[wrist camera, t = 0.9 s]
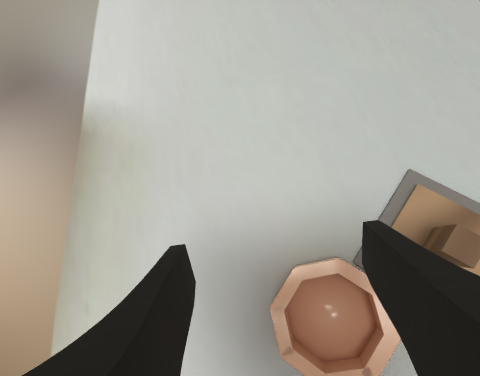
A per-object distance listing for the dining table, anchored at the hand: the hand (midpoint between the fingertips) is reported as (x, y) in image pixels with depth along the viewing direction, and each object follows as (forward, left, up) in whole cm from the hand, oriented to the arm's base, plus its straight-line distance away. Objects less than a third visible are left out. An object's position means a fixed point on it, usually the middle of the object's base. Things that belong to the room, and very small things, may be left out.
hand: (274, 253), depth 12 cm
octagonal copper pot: (-5, +3, -14) cm, 16 cm away
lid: (-9, -6, -14) cm, 18 cm away
